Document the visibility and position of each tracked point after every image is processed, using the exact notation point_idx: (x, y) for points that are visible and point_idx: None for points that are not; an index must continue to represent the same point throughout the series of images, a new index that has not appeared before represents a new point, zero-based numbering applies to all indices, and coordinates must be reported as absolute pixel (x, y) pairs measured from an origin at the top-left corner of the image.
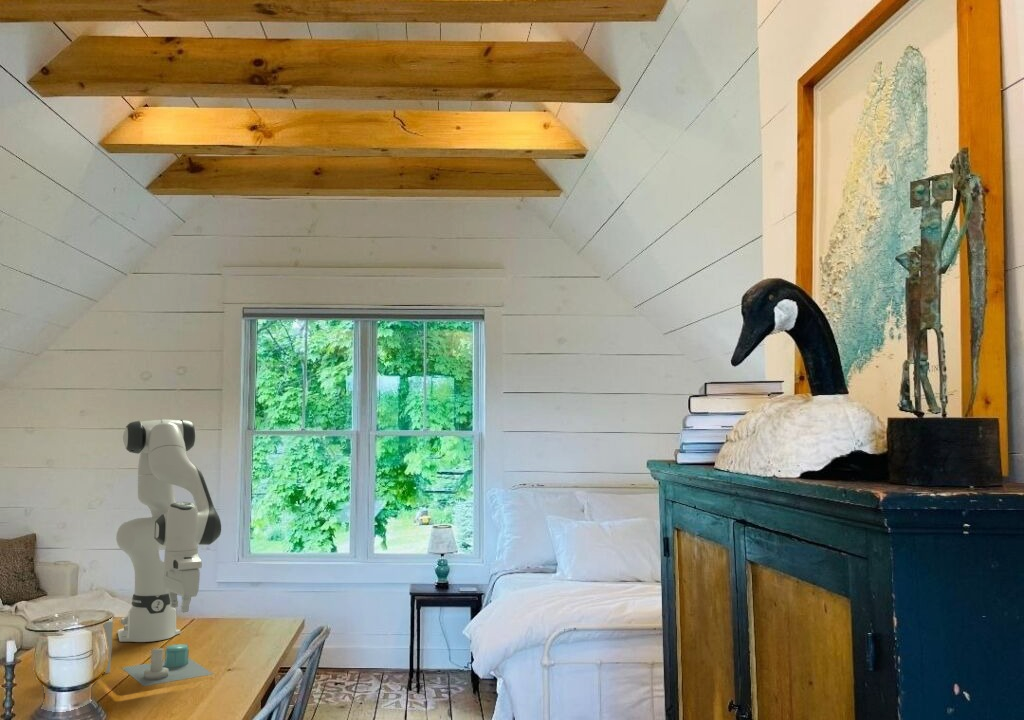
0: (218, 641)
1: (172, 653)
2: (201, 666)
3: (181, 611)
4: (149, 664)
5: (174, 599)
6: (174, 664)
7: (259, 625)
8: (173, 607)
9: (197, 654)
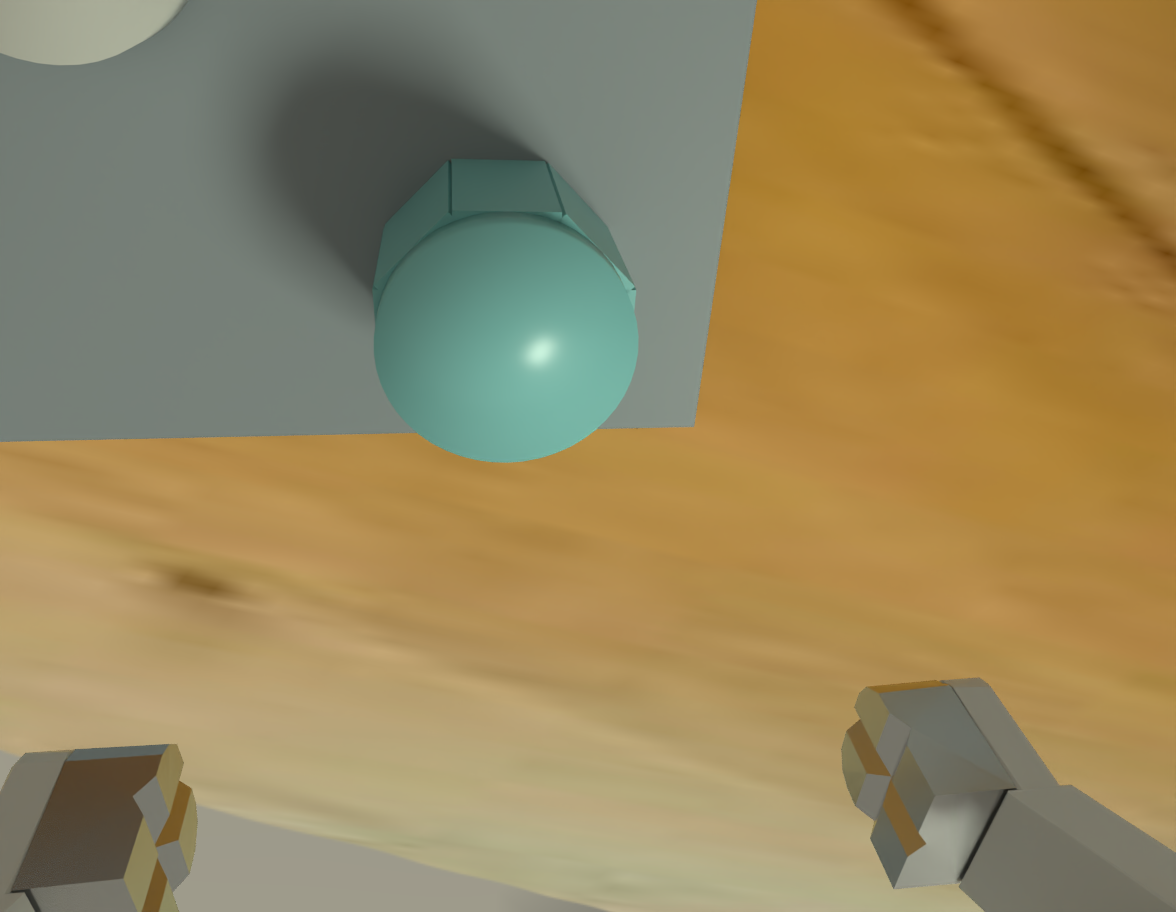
0: (1038, 699)
1: (404, 252)
2: (268, 430)
3: (113, 749)
4: (695, 32)
5: (1006, 870)
6: (388, 229)
7: None
8: (857, 701)
9: (834, 521)
